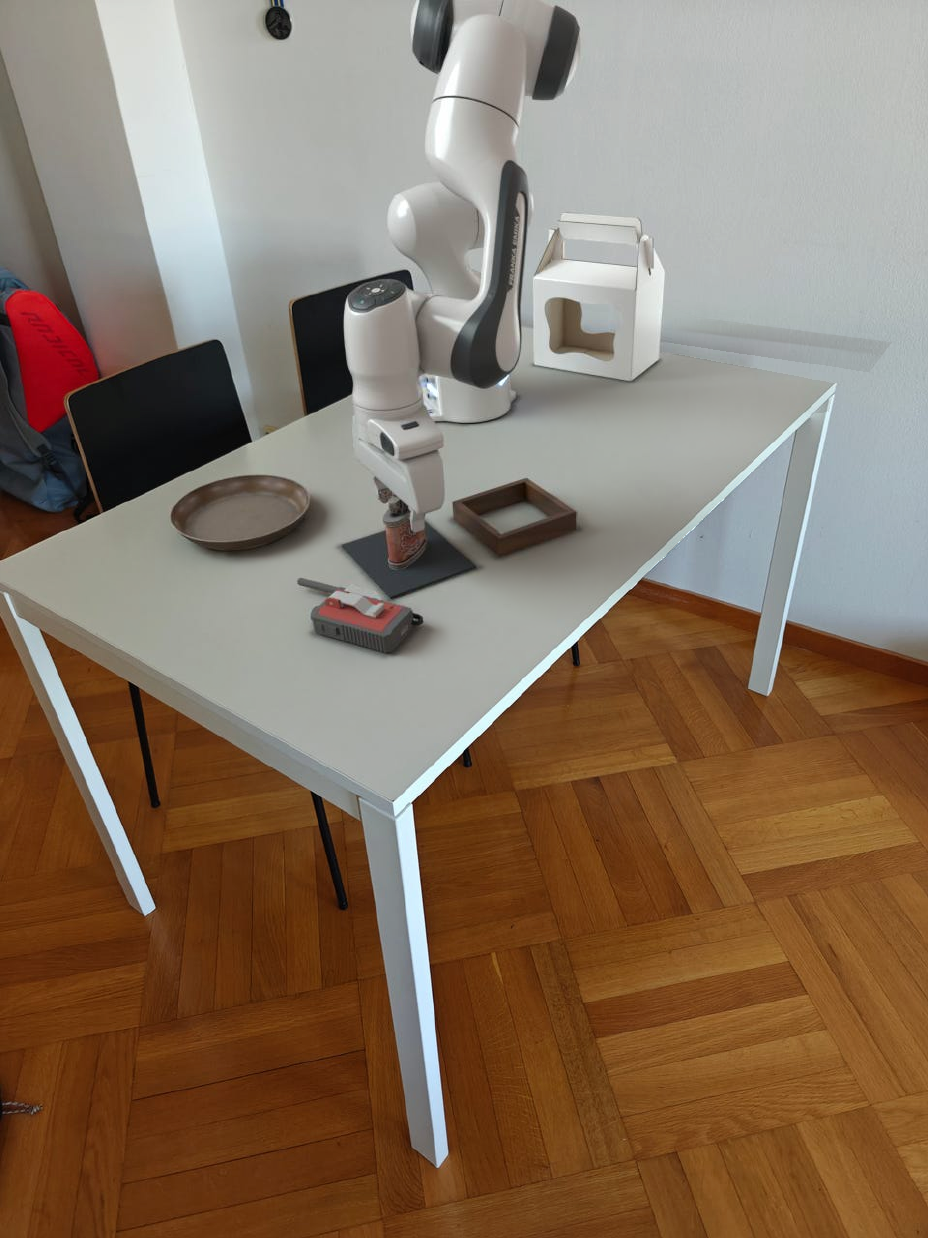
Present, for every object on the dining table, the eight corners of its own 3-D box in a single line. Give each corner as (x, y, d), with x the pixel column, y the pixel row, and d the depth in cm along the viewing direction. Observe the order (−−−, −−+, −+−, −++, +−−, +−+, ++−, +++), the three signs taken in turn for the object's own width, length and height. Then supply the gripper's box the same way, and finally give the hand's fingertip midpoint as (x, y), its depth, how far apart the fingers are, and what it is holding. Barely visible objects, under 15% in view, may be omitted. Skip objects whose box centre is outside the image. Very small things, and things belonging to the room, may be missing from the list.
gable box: (532, 365, 182) (530, 218, 165) (563, 345, 190) (564, 203, 174) (632, 382, 171) (640, 227, 155) (660, 360, 180) (671, 211, 163)
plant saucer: (335, 499, 139) (332, 480, 137) (271, 568, 123) (266, 547, 121) (222, 485, 145) (217, 467, 143) (146, 550, 129) (140, 530, 127)
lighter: (404, 571, 120) (396, 506, 114) (383, 566, 121) (374, 501, 115) (432, 542, 125) (427, 479, 120) (412, 538, 127) (405, 475, 121)
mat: (341, 547, 127) (341, 544, 127) (421, 520, 132) (421, 518, 131) (390, 599, 115) (390, 596, 115) (476, 568, 120) (476, 565, 120)
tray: (453, 519, 131) (452, 501, 130) (526, 495, 136) (526, 477, 135) (499, 557, 122) (498, 538, 120) (576, 529, 127) (577, 511, 125)
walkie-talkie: (433, 619, 111) (304, 584, 119) (430, 589, 109) (298, 557, 117) (397, 659, 105) (263, 620, 113) (393, 629, 102) (257, 591, 110)
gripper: (334, 398, 118) (348, 491, 126) (403, 453, 103) (413, 554, 111) (377, 387, 120) (388, 478, 128) (450, 439, 106) (457, 539, 114)
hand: (400, 514), depth 120 cm, fingers open, 8 cm apart
